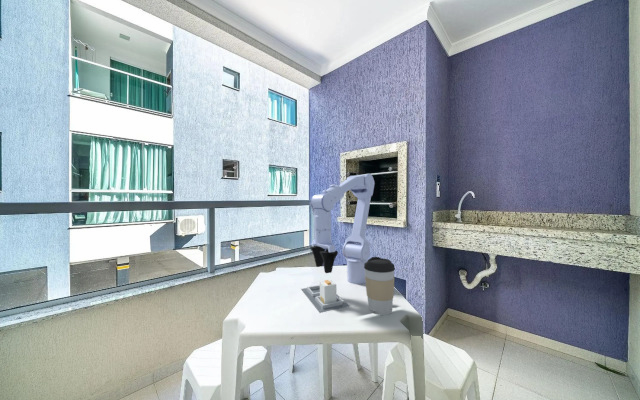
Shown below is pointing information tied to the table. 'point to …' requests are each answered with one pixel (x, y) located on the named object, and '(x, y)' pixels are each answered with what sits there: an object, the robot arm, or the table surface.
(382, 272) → the coffee cup
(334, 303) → the panel
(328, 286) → the plug
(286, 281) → the table surface
